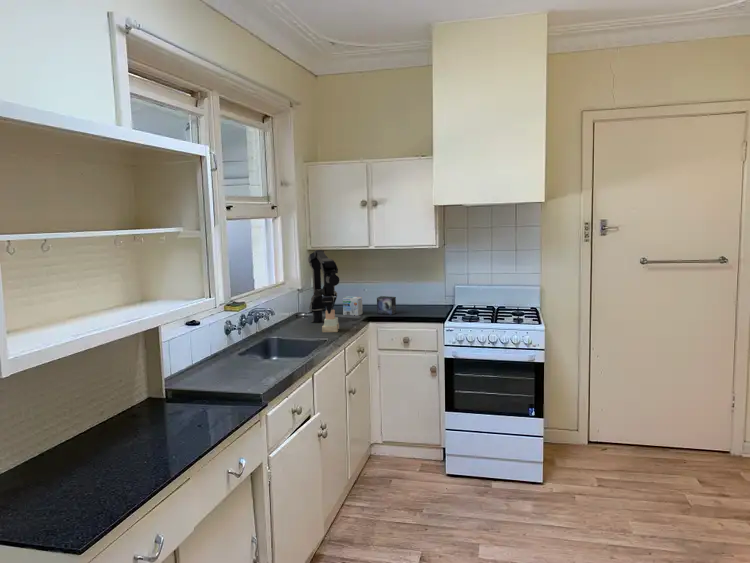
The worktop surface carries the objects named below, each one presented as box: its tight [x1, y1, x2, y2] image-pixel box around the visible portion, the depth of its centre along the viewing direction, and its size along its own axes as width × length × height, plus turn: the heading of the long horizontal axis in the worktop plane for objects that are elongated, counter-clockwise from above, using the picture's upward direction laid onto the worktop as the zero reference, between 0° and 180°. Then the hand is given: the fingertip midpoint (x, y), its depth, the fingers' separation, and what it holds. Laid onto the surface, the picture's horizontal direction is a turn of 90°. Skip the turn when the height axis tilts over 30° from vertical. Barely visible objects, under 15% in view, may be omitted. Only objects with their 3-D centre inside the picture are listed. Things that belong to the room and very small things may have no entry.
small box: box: [376, 295, 397, 316], centre depth 349 cm, size 11×6×10 cm, turn 62°
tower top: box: [323, 316, 339, 326], centre depth 306 cm, size 6×6×4 cm
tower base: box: [321, 322, 340, 333], centre depth 306 cm, size 8×8×4 cm
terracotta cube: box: [324, 309, 336, 320], centre depth 305 cm, size 4×4×4 cm
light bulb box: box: [342, 296, 364, 316], centre depth 350 cm, size 11×7×11 cm, turn 68°
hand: (330, 312), depth 305 cm, fingers open, 9 cm apart
